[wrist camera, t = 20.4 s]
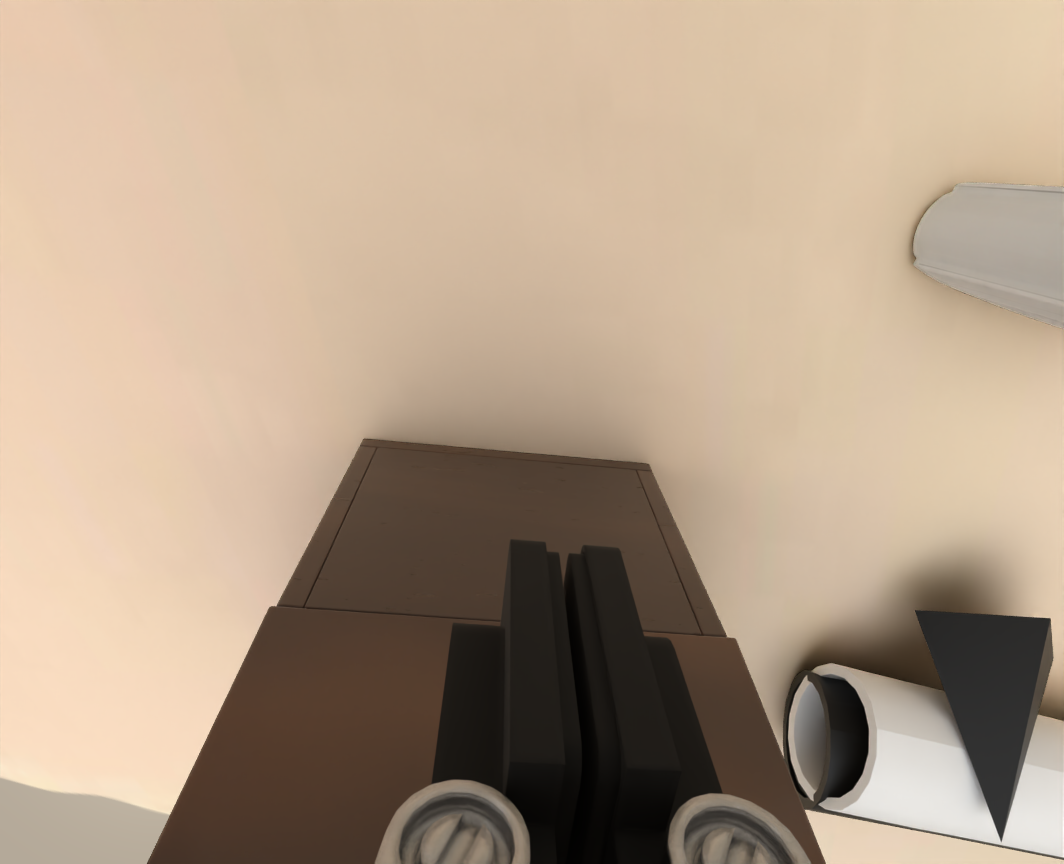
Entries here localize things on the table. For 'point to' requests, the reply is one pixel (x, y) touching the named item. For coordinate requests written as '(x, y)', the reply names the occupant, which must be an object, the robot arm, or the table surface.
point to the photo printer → (998, 246)
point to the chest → (490, 534)
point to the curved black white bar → (939, 738)
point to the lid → (396, 739)
